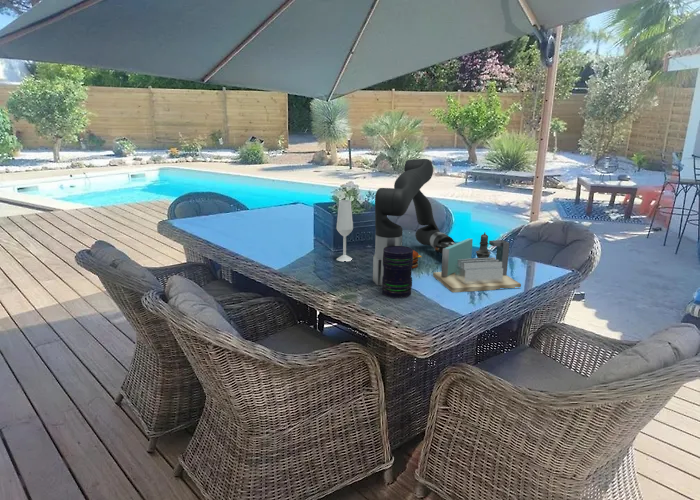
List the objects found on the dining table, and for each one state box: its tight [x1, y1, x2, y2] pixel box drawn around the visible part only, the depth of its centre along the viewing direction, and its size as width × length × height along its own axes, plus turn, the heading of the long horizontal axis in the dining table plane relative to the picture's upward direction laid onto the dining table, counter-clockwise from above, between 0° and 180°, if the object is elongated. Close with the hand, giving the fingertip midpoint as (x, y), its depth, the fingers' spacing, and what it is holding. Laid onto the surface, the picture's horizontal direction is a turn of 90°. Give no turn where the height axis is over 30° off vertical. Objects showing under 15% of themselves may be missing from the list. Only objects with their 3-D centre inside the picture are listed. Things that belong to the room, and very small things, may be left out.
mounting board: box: [432, 271, 522, 293], centre depth 181 cm, size 25×18×2 cm
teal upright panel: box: [440, 238, 473, 277], centre depth 187 cm, size 21×2×10 cm, turn 142°
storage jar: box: [381, 245, 414, 299], centre depth 167 cm, size 10×10×15 cm
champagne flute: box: [335, 199, 354, 262], centre depth 205 cm, size 7×7×24 cm
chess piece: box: [475, 232, 491, 258], centre depth 206 cm, size 6×6×12 cm
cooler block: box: [455, 239, 510, 284], centre depth 179 cm, size 20×12×12 cm, turn 102°
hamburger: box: [412, 249, 423, 269], centre depth 199 cm, size 9×10×7 cm
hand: (458, 253), depth 194 cm, fingers closed
